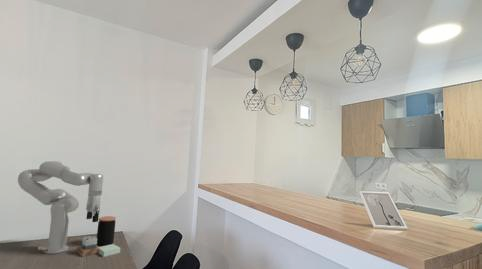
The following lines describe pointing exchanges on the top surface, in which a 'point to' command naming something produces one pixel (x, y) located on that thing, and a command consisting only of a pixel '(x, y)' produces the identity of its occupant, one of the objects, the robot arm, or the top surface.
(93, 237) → the housing
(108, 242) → the coffee jar
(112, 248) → the stand
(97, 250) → the stand
